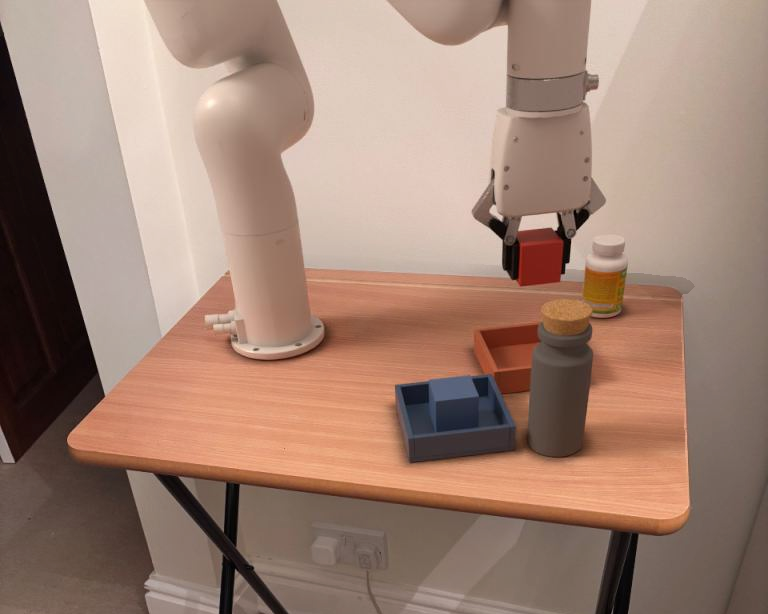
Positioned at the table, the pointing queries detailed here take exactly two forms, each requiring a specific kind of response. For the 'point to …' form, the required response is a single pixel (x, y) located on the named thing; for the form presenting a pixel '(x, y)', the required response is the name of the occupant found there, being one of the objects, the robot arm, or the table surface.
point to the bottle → (560, 379)
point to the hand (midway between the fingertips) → (535, 271)
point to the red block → (539, 257)
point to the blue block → (453, 403)
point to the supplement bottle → (605, 276)
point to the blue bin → (429, 445)
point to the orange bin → (507, 354)
